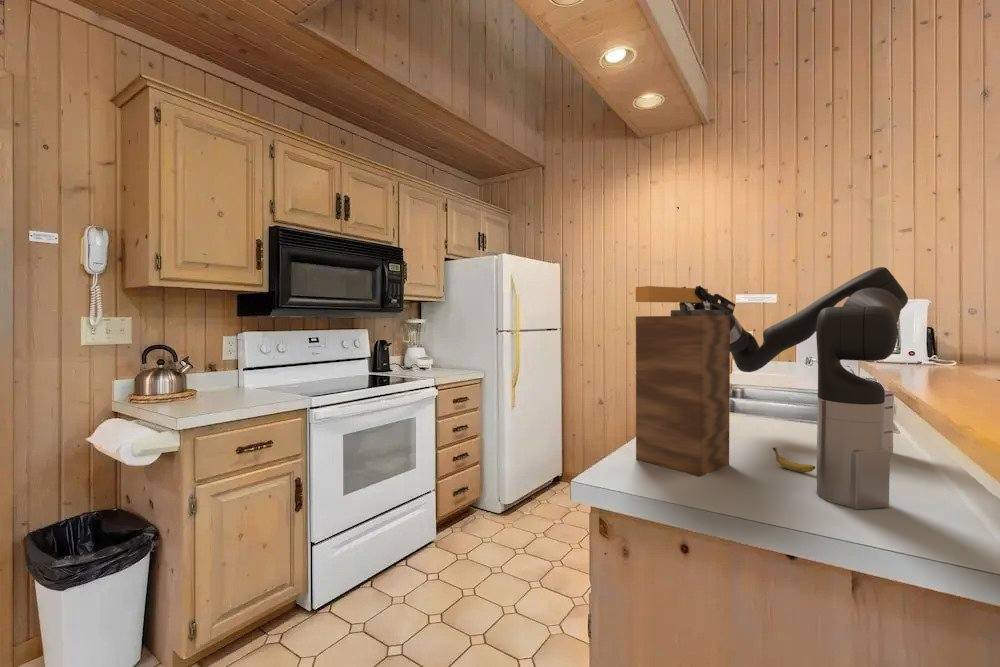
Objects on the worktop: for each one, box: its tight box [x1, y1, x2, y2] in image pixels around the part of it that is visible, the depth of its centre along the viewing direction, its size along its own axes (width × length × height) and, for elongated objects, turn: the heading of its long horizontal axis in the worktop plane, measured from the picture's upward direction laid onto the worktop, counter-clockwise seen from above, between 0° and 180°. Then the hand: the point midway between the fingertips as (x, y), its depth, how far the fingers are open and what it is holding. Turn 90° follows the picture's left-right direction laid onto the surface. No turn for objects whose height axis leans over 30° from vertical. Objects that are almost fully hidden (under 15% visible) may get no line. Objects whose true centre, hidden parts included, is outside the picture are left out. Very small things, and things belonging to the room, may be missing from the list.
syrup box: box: [884, 389, 895, 454], centre depth 108 cm, size 6×6×14 cm
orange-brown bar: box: [635, 285, 709, 303], centre depth 106 cm, size 24×3×3 cm, turn 128°
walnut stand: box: [635, 309, 731, 478], centre depth 101 cm, size 12×15×33 cm
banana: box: [772, 447, 816, 473], centre depth 96 cm, size 8×2×4 cm, turn 32°
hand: (689, 289), depth 109 cm, fingers closed on orange-brown bar, 3 cm apart
